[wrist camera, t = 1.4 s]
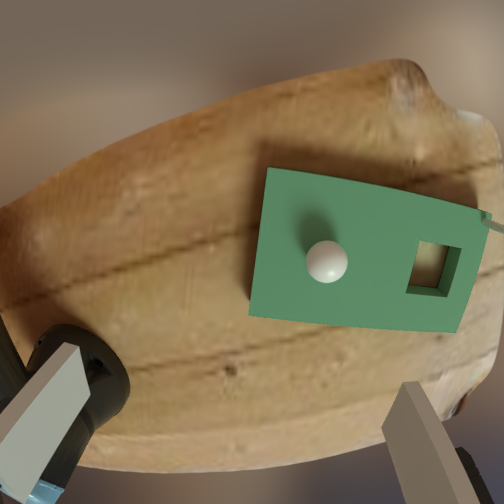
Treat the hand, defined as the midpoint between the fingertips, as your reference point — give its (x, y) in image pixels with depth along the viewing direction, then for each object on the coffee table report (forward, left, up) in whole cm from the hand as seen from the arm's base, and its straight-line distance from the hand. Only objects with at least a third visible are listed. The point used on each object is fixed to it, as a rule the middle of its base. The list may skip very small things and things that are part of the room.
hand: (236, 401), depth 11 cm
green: (+12, +1, -21) cm, 24 cm away
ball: (+6, +1, -17) cm, 18 cm away
